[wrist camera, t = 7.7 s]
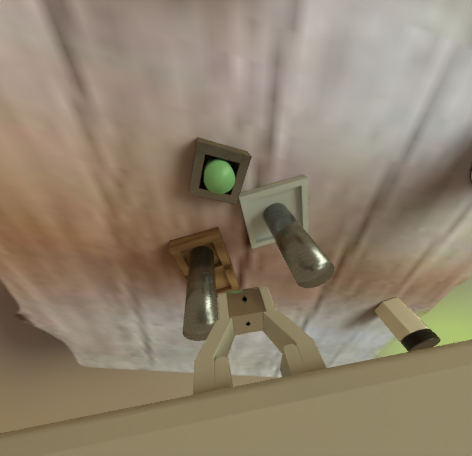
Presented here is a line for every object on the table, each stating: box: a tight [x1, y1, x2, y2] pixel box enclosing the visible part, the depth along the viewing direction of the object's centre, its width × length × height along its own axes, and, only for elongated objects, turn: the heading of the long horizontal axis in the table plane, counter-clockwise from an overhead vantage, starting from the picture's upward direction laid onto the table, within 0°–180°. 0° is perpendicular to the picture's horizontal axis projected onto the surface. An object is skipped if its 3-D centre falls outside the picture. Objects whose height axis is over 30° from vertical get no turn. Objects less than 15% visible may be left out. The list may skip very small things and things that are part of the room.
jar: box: [374, 297, 440, 352], centre depth 54 cm, size 9×8×12 cm
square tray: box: [239, 175, 309, 249], centre depth 32 cm, size 11×11×2 cm
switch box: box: [189, 138, 252, 204], centre depth 26 cm, size 7×7×3 cm
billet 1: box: [183, 246, 218, 341], centre depth 29 cm, size 4×4×14 cm
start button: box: [204, 157, 235, 194], centre depth 25 cm, size 4×4×4 cm
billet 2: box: [263, 203, 334, 288], centre depth 27 cm, size 4×4×14 cm
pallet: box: [168, 227, 240, 297], centre depth 37 cm, size 16×9×2 cm, turn 14°
